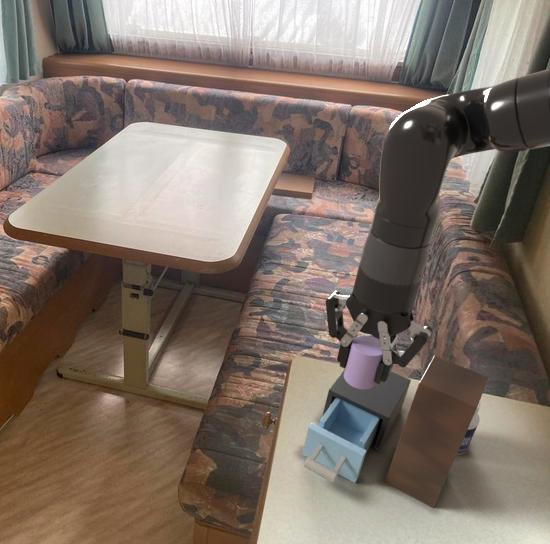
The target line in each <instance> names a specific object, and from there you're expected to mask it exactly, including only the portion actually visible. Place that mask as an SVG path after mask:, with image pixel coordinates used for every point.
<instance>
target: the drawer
mask: <svg viewBox="0 0 550 544" xmlns="http://www.w3.org/2000/svg"><path fill="white" fill-rule="evenodd" d="M322 416H323V415H322ZM381 420H382V419H381V418H379V417H377V416H375V415H372V414H370V413H368V412H366V411H364V410H362V409H360V408H358V407H356V406H353V405H351V404H349V403H347V402H345V401H343V400H341V399H339V398H337V397H336V399H335V400H334V401H333V403H332V404H331V406H330V407H329V409H328V410H327V411H326V413H325V414H324V416H323V417H321V418H320V420H319V422H318V425H317V424H315V423H314V422H311V423H310V424H309V426H308V428H307V432H306V436H305V441H304V445H303V449H302V454H301V455H302V456H303V457H305V458H306V459H305V461H304V463H303V467H304V468H306V469H308V471H309V470H310V471H311V472H313V473H315V474H316V475H318V476H320V477H322V478H324V479H325V480H327V481H328V482H329V481H330V482H331V483H333V484H335V483H336V480H337V479H338V476H341V477H342V478H345V479H346V480H348V481H350V482H351V483H354V484H356V483H357V481H358V479H359V476H360V473H361V470H362V467H363V463H364V461H365V457H366V455H367V452H368V450H369V449H370V447H371V445H372V444H373V442H374V440H375V437H376V434H377V432H378V429H379V426H380V422H381Z"/></svg>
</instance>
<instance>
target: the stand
mask: <svg viewBox="0 0 550 544" xmlns="http://www.w3.org/2000/svg"><path fill="white" fill-rule="evenodd" d="M488 381H489V377H488V376H486V375H484V374H482V373H480V372H476V371H474V370H471V369H469V368H466V367H464V366H461V365H459V364H456V363H455V362H451V361H450V360H446V359H444V358H441V357H439V356H437V355H433V357H432V358H431V360H430V363H429V364H428V366H427V367H426V369H425V371H424V374H423V375H422V377H421V378H420V381H419V382H418V385H417V387H416V392H415V394H414V396H413V399H412V402H411V405H410V408H409V411H408V412H407V413H408V414H407V416H406V419H405V422H404V425H403V428H402V430H401V434H400V436H399V439H398V442H397V444H396V449H395V450H394V453H393V456H392V459H391V462H390V465H389V468H388V471H387V473H386V476H385V478H384V483H385V484H386V485H388V486H390V487H392V488H394V489H396V490H398V491H399V492H401V493H403V494H405V495H407V496H409V497H411V498H413V499H415V500H416V501H418V502H421V503H423V504H424V505H426V506H428V507H430V508H432V509H434V507H435V506H436V504H437V501H438V499H439V497H440V494H441V491H442V489H443V488H444V485H445V482H446V481H447V478H448V476H449V474H450V471H451V470H452V469H451V468H452V466H453V464H454V462H455V459H456V457H457V456H458V455H457V453H458V450H459V448H460V446H461V443H462V441H463V439H464V437H465V434H466V432H467V430H468V427H469V425H470V423H471V420H472V418H473V416H474V414H475V411H476V409H477V407H478V404H479V402H480V401H481V399H482V397H483V394H484V392H485V389H486V386H487V384H488Z"/></svg>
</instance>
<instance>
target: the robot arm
mask: <svg viewBox="0 0 550 544" xmlns="http://www.w3.org/2000/svg"><path fill="white" fill-rule="evenodd" d="M385 135H386V136H385V138H384V141H383V145H382V149H381V155H380V163H379V178H378V186H379V187H378V191H379V194H378V198H377V201H376V204H375V208H374V212H373V216H372V219H371V224H370V227H369V231H368V234H367V236H366V238H365V241H364V244H363V246H362V251H361V255H360V260H359V264H358V268H357V271H356V275H355V279H354V284H353V287H352V293H350V294H349V295H344V294H343V295H342V294H341V292H340V291H338V290H334V291H333V292H332V293H331V294H330V295H329V296H328V297H327V298H326V300H325V310H326V319H327V329H328V330H327V331H328V335H329V337H331V338H332V339H337V340H338V341H339V348H338V352H337V356H336V360H337V362H338V363H339V367H340V368H342V369H345V367H346V364H347V360H348V356H349V352H350V348H351V345H352V341H353V339H354V338H355V337H357V336H358V334H359V332H360V333H362V334H364V335H369V336H372V337H375V338H377V339H379V340H380V349H381V350H382V357H383V359H382V360H381V362H380V364H379V368H378V371H377V375H376V378H375V381H374V382H375V383H378V384H380V383H381V381H383V382H385V381H386V380H387V379H388V377H389V376H390V374H391V372H392V371H393V367H394V365H397V366H398V367H400V368H406V367H407V366H409V364H410V363H411V361H412V360H413V359H414V358H415V357H416V356H417V354H418V353H419V352H420V351H421V349H422V348H423V347H424V346H425V345H426V344H427V342H428V341H429V339H430V337H431V336H432V334H433V328H432V327H431V326H428V325H425V326H422V325H420V324H419V323H417V322H416V321H414V319H415V318H414V315H413V308H414V305H415V302H416V299H417V296H418V293H419V289H420V286H421V283H422V280H423V277H424V275H425V273H426V270H427V265H428V260H429V256H430V250H431V244H432V240H433V237H434V234H435V232H436V228H437V225H438V222H439V218H440V215H441V211H442V199H441V196H440V192H441V189H442V185H443V183H444V182H443V181H444V178H445V175H446V172H447V169H448V167H449V164H450V162H451V161H452V160H453V159H454V158H459V157H461V156H466V155H470V154H476V153H482V152H487V151H493V150H496V151H498V152H500V153H517V152H524V151H530V150H535V149H539V148H545V147H550V68H548V69H547V68H546V69H544V70H540V71H537V72H533V73H529V74H526V75H522V76H520V77H515V78H511V79H509V80H506V81H504V82H501V83H497V84H495V85H492V86H485V87H480V88H474V89H473V88H472V89H467V90H462V91H457V92H453V93H449V94H444V95H439V96H437V97H433V98H430V99H427V100H424V101H422V102H420V103H418V104H416V105H415V106H413V107H411V108H410V109H408V110H406V111H404V112H403V113H401V114H400V115H398V117H396V118H395V120H394V121H393V122H392V123H391V125H390V126H389V129H388V130H387V133H386V134H385ZM346 307H347V310H348V313H349V315H350V316H351V319H352V321H353V323H352V324H351V325H350V327H349V328H348V329H347V328H346V327H345V324H344V322H345V321H344V311H343V310H344V309H345V308H346ZM406 330H408V331H409V336H408V339H409V341H410V343H409V344H408V345H407V346H406V347H405V349H404V350H399V349H398V340H399V334H401V333H404V332H405V331H406Z"/></svg>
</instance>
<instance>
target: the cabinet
mask: <svg viewBox="0 0 550 544" xmlns="http://www.w3.org/2000/svg"><path fill="white" fill-rule="evenodd" d="M345 368H346V367H345ZM345 368H343V370H342V371H341V373H340V374H339V375H338V377H337V378H336V379H335V381H334V382H333V383H332V385H331V386H330V387H329V389H328V392H327V395H326V399H325V403H324V407H323V413H322V417H323V416H324V414H325V413H326V411H327V410H328V409H329V407H330V406H331V404H332V403H333V401H334V400H335V399H336V397H337V398H339V399H341V400H343V401H345V402H347V403H349V404H351V405H353V406H356V407H358V408H360V409H362V410H364V411H366V412H368V413H370V414H372V415H375V416H377V417H379V418H381V419H380V420H382V421H381V424H380V428H379V431H378V433H377V436H376V440H375V443H374V446H373V448H374V449H376V450H380V449H381V447H382V445H383V444H384V442H385V440H386V438H387V436H388V434H389V433H390V431H391V429H392V427H393V426H394V424H395V422H396V420H397V418H398V417H399V414H400V413H401V412H402V408H403V405H404V403H405V399H406V396H407V394H408V390H409V388H410V385H411V381H412V380H411V379H410V378H408V377H405V376H403V375H401V374H398V373H396V372H394V371H391V374H390V376H389V377H388V379H387V380H386V381H385V382H383V381H381V383H380V384H378V383H376V384H375V386H374V387H373V388H371V389H366V390H363V389H358V388H355V387H353V386H351V385H349V384H348V383H347V382H346V380H345V379H344V372H345ZM322 417H321V418H322Z"/></svg>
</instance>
